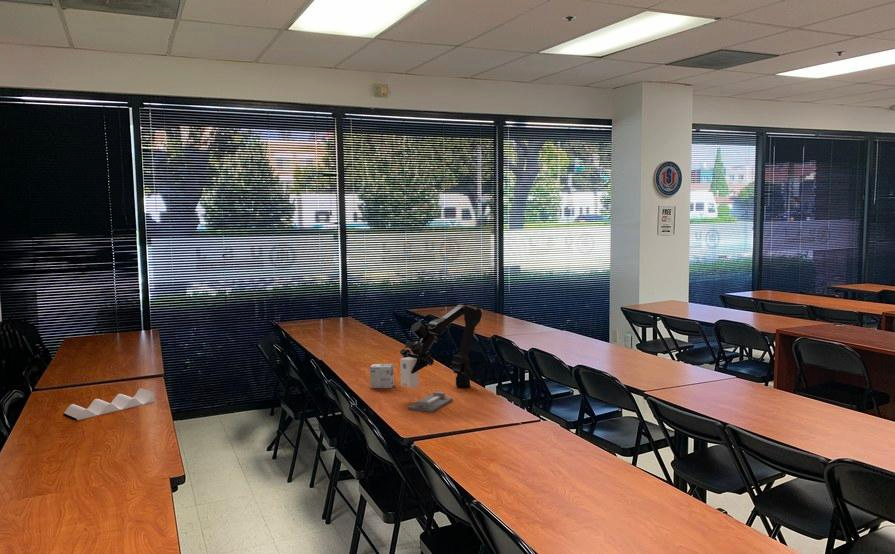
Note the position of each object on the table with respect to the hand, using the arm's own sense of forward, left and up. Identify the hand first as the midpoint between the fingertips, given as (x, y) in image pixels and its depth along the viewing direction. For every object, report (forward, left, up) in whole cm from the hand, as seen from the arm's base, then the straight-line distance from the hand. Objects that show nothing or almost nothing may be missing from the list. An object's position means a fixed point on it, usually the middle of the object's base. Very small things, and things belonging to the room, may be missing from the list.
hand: (406, 371), depth 304 cm
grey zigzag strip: (+134, -2, -14) cm, 135 cm away
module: (-1, -1, -7) cm, 7 cm away
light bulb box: (+13, -26, -14) cm, 32 cm away
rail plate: (-10, +7, -13) cm, 18 cm away
